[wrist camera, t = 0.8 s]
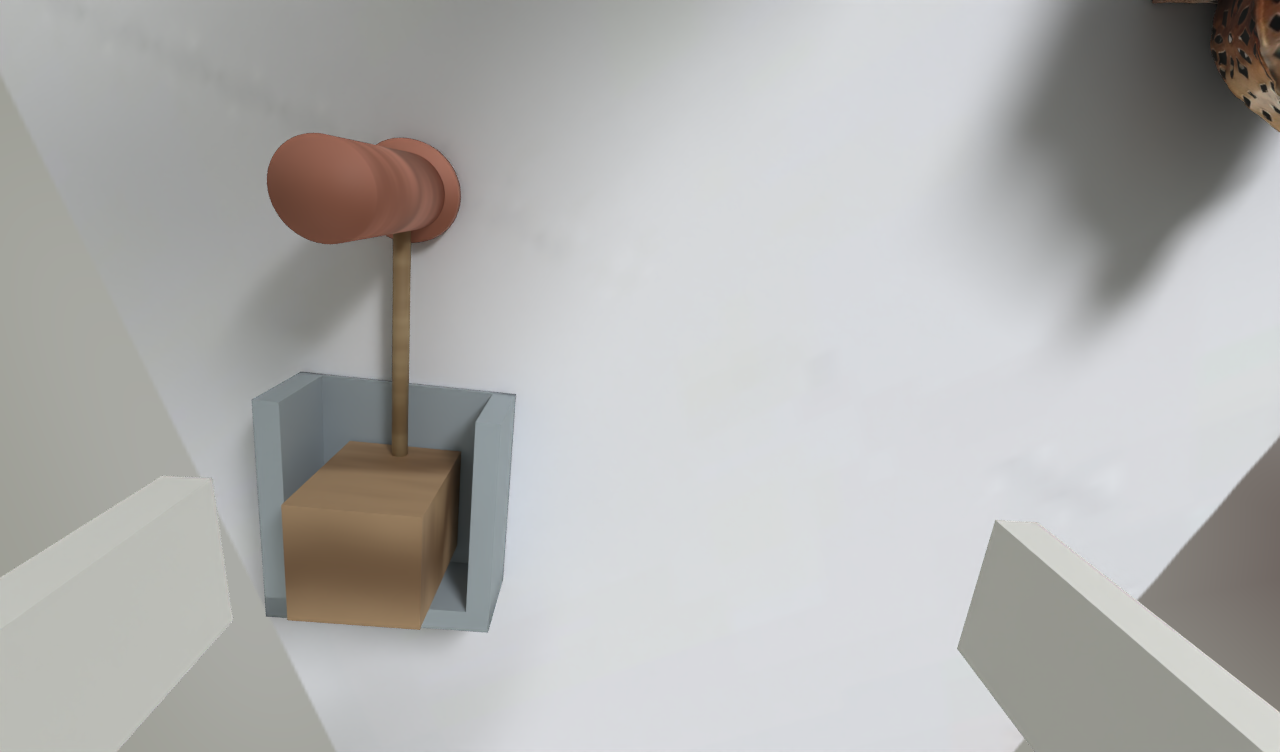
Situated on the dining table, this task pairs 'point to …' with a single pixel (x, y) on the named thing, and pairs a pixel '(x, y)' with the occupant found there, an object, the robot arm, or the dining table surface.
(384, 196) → the block and peg linkage
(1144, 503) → the dining table surface
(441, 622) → the slate open-sided box
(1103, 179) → the dining table surface
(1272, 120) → the lantern
